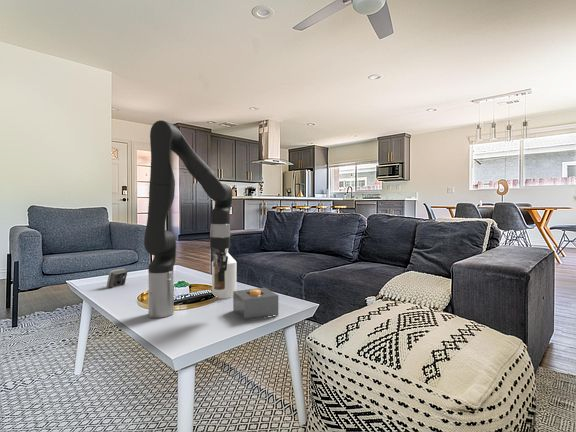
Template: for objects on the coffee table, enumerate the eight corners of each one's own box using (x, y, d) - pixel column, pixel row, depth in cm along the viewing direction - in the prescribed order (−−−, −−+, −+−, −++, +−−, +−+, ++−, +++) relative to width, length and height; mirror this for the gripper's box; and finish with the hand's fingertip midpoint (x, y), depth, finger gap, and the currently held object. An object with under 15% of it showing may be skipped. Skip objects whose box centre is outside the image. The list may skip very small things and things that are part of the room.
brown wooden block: (215, 290, 122) (216, 258, 122) (213, 287, 126) (213, 256, 126) (226, 289, 124) (226, 257, 124) (223, 286, 128) (223, 256, 127)
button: (252, 307, 127) (251, 292, 127) (248, 304, 131) (248, 290, 131) (262, 306, 129) (262, 291, 129) (258, 303, 133) (258, 288, 133)
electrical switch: (120, 284, 181) (121, 267, 181) (127, 285, 179) (128, 269, 179) (105, 287, 172) (106, 270, 172) (113, 289, 171) (114, 272, 170)
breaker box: (244, 321, 121) (244, 299, 121) (233, 310, 134) (233, 291, 133) (278, 315, 127) (278, 295, 127) (264, 306, 140) (264, 287, 140)
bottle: (238, 292, 163) (237, 242, 163) (235, 298, 152) (234, 245, 151) (214, 292, 163) (214, 242, 163) (209, 298, 151) (209, 245, 151)
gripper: (206, 234, 129) (205, 277, 130) (214, 237, 116) (214, 285, 117) (224, 234, 133) (224, 275, 133) (235, 237, 120) (234, 283, 120)
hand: (219, 279), depth 125 cm, fingers closed on brown wooden block, 4 cm apart
